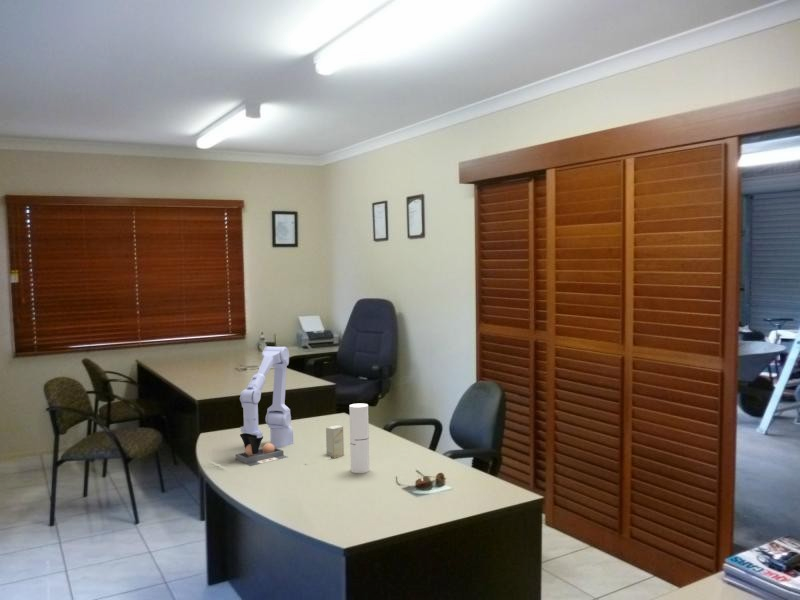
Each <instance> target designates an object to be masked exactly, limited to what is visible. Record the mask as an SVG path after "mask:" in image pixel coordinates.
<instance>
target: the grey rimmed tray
mask: <svg viewBox="0 0 800 600" xmlns="http://www.w3.org/2000/svg"><path fill="white" fill-rule="evenodd" d="M284 454H285V453H284V450H282V449H281V448H279V447H275V451H274V452H272V453H268V454H264V453H263V451H262V448H259V451H258V453H257V454H256V455H255V456H248V455H247V454H246V452H245V451H244V452H240V453H239V452H238V453H236V454H235V460H236V461H238V462H241V463H243V464H245V465H247V466H249V467H253V466H258V465H263V464H265V463H270V462H274V461H278V460H283V459H285V458H288V456H287V455H284Z"/></svg>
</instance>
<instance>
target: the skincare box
mask: <svg viewBox="0 0 800 600" xmlns="http://www.w3.org/2000/svg"><path fill="white" fill-rule="evenodd" d="M325 435H326V437H325V438H326V441H325V442H326V455H327V456H330V457H331V459H337V458H339V456H340V457H342V455H343V456H344V455H345V446H344V445H345V442H344V440H345V439H344V426H342V425H337V424H335V425H331V426H328V427H326V428H325ZM336 457H337V458H336Z"/></svg>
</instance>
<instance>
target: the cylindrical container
mask: <svg viewBox="0 0 800 600" xmlns="http://www.w3.org/2000/svg"><path fill="white" fill-rule="evenodd" d="M348 409H349V442H350V443H349V447H350V448H349V449H350V450H349V452H350V455H349V456H350V472H351V473H354V474H364V473H368V472H370V433H369V432H370V431H369V430H370V429H369V404H368V403H359V402H358V403H352V404H349V407H348Z"/></svg>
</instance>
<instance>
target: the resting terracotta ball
mask: <svg viewBox="0 0 800 600" xmlns="http://www.w3.org/2000/svg"><path fill="white" fill-rule="evenodd" d="M261 449H262V451H263V453H264V454H268V453H272V452H274V451H275V447H274V445H273V444H271V442H267V443H265V444H264V445H263V446H262V448H261Z"/></svg>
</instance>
